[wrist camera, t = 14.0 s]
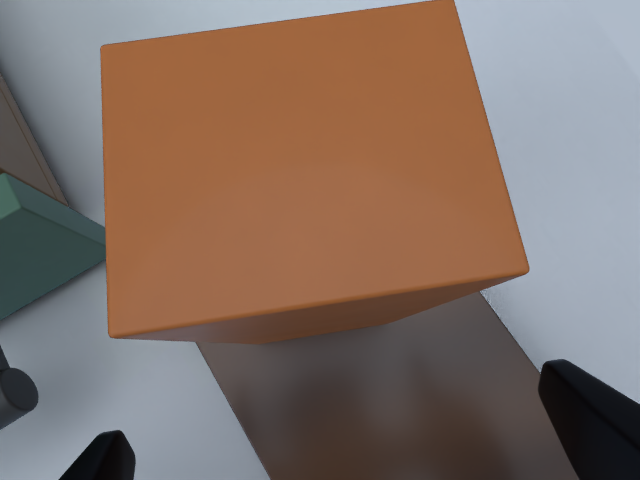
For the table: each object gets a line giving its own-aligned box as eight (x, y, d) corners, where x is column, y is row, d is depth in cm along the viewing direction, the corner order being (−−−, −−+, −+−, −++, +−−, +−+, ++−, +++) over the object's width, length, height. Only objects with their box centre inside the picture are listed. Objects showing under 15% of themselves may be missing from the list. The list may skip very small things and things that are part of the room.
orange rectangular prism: (389, 323, 16) (533, 272, 5) (256, 344, 15) (105, 339, 5) (370, 221, 17) (454, -6, 6) (244, 240, 16) (98, 43, 6)
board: (602, 467, 15) (613, 472, 14) (368, 649, 14) (371, 663, 13) (377, 161, 18) (379, 155, 17) (169, 287, 17) (163, 285, 16)
